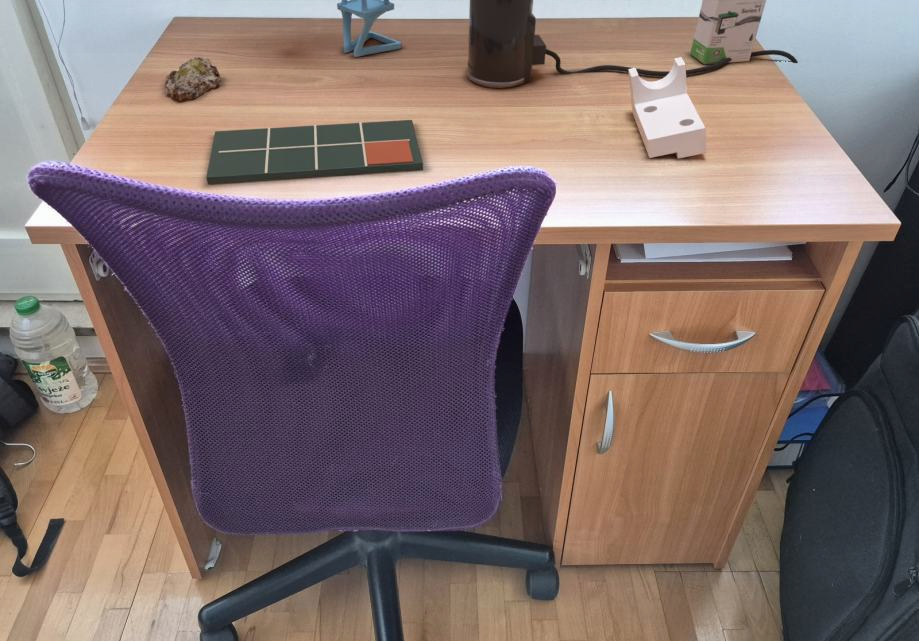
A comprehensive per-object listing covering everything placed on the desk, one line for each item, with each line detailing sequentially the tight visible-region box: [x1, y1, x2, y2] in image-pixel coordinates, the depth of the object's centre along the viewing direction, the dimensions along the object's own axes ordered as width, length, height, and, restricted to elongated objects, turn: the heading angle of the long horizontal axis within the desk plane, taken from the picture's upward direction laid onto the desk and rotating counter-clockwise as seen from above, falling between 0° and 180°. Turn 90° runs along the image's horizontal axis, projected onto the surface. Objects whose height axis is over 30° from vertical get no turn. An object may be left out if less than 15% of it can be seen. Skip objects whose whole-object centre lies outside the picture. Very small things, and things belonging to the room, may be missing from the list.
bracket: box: [628, 56, 707, 160], centre depth 96 cm, size 13×7×8 cm, turn 179°
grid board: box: [205, 119, 424, 185], centre depth 93 cm, size 26×12×1 cm, turn 99°
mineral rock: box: [164, 56, 221, 102], centre depth 107 cm, size 11×4×8 cm
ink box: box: [689, 0, 767, 65], centre depth 116 cm, size 9×5×12 cm, turn 103°
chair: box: [336, 0, 402, 58], centre depth 116 cm, size 8×8×12 cm
